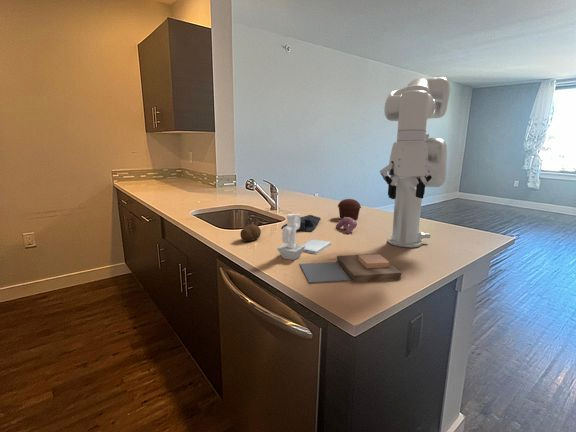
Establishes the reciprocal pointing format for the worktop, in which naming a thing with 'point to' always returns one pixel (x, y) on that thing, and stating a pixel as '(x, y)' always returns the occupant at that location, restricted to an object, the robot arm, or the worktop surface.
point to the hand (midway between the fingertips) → (405, 197)
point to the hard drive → (315, 246)
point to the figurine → (291, 238)
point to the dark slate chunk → (307, 223)
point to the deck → (366, 270)
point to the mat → (324, 272)
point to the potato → (250, 233)
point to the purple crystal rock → (346, 222)
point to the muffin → (349, 209)
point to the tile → (373, 261)
